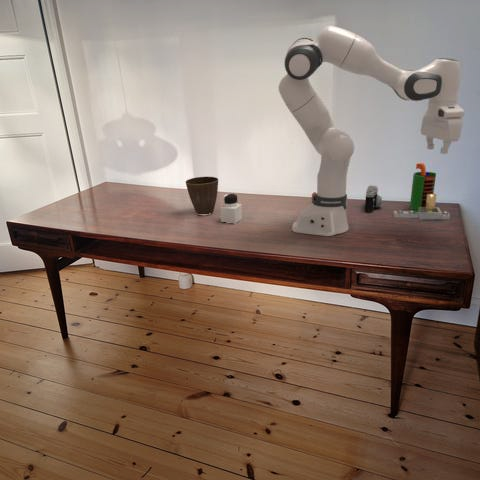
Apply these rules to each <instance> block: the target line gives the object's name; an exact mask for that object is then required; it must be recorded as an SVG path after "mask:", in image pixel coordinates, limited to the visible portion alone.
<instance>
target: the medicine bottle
mask: <svg viewBox="0 0 480 480" xmlns="http://www.w3.org/2000/svg"><path fill="white" fill-rule="evenodd" d="M222 200H223V201H222V202H223V205H222V206H220V207H219V209H220V210H219V213H220V222H221V221H224V222H231V223H236V222H238V221H239V220H240V219H242V220H243V211H242V210H243V208H242V203H238V195H237V194H235V193H226V194H224V195H223V196H222ZM240 221H241V220H240ZM240 221H239V222H240ZM239 222H238V223H239ZM236 224H237V223H236Z"/></svg>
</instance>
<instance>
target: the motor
mask: <svg viewBox="0 0 480 480" xmlns="http://www.w3.org/2000/svg"><path fill="white" fill-rule="evenodd" d="M415 169H418V170H420V171H417V172H414V173H413V175H412V183H411V184H412V185H411V194H410V202H409V210H414V211H415V212H418V208H419V207H426V201H427V194H429V193H433V194H435V192H434V191H435V184H436V176H437V172H432V171H427V169H426V165H425V164H424V163H422V162H421V163H416V165H415Z"/></svg>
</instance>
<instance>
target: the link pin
mask: <svg viewBox="0 0 480 480" xmlns="http://www.w3.org/2000/svg"><path fill="white" fill-rule="evenodd" d="M436 202H437V194H436V193H429V194H427V201H426V209H425V212H434V211H435V207H436Z"/></svg>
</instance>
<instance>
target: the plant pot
mask: <svg viewBox="0 0 480 480" xmlns="http://www.w3.org/2000/svg"><path fill="white" fill-rule="evenodd" d="M185 185H186V189H187V192H188V195H189V198H190V201H191V204H192V207H193V209H194V211H195V213H196V214H197V213H198V214H209V213H212V212H213V213H214V211H215V206H216V203H217V197H218V190H219V189H218V188H219V178H218V177H215V176H197V177H192V178H188V179H186V180H185ZM198 214H197V215H198Z"/></svg>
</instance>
